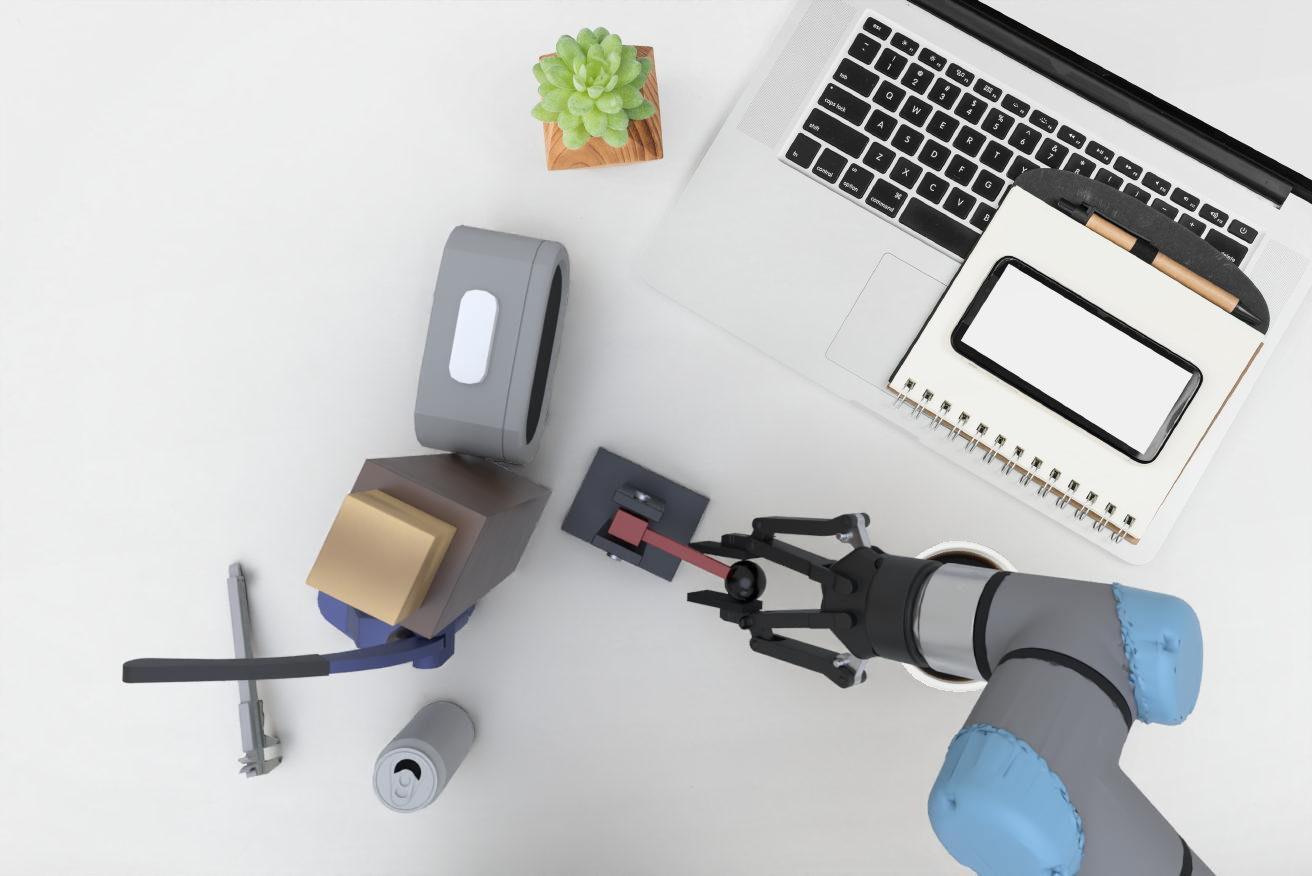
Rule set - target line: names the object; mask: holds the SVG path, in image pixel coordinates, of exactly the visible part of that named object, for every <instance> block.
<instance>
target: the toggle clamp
mask: <svg viewBox="0 0 1312 876" xmlns="http://www.w3.org/2000/svg"><path fill="white" fill-rule="evenodd" d="M710 501H711V499H710V498H709V497H708V496H705V495H703V494H702V493H699V492H697V491H695V490H693V489H691V488H689V487H687V486H685V485H683V484H680V483H678V482H676V481H674V480H672V479H670V478H668V477H666V476H663V475H661V474H659V473H657V472H655V471H653V470H650V469H648V468H646V467H645V466H642V465H641V464H638V463H636V462H634V461H632V460H630V459H628V458H626V457H623V456H621V455H619V454H617V453H615V452H613V451H611V450H609V449H607V448H605V447H602V446H599V447H598V449H597V451H596V454H595V456H594V458H593V460H592V462H591V463H590V466H589V468H588V471H587V472H586V475H585V477H584V479H583V481H582V483H581V485H580V487H579V490H578V492H577V493H576V496H575V498H574V500H573V502H572V504H571V506H570V509H569V511H568V512H567V515H566V517H565V518H564V521H563V523H562V526H561V528H560V530H561V531H563V532H564V533H566V534H569V535H571V536H573V537H575V538H577V539H580V540H582V541H584V542H585V543H588V544H590V545H592V546H594V547H596V548H598V549H600V550H602V551H604V552H606V556H607V557H608V558H609V559H612V560H614V561H617V562H622V560H623V561H625V562H627V563H629V564H631V565H633V566H635V567H638V568H640V569H642V570H644V571H647V572H649V573H650V574H653V575H654V576H657V577H658V578H661V579H663V580H665V581H667V582H670V583H671V582H672V581H673V579H674V577H675V575H676V572H677V570H678V568H679V566H680V564H681V562H682V561H683V560H682V559H680V558H678V557H676V556H674V555H672V554H670V553H668V552H666V551H663V550H661V549H659V548H657V547H655V546H653V545H651V544H649V543H646V542H644V541H642V540H641V541H640V543H639V545H638V547H637V546H635V545H633V544H631V543H628V542H626V541H624V540H622V539H620V538H618V537H616V536H614V535H612V534H609V533H608V530H609V528H610V526H611V524H612V522H613V519H614V517H615V515H616V513H617V511H618V509H619V507H623V508H625V509H627V510H629V511H631V512H633V513H635V514H637V515H639V516H642V517H644V518H646V519H648V520H649V524H648V526H647V527H648V528H650V529H652V530H654V531H656V532H658V533H660V534H663V535H665V536H667V537H669V538H671V539H673V540H675V541H677V542H680V543H682V544H684V545H686V546H688V543H691V541H692V538H693V536H694V534H695V532H696V530H697V528H698V526H699V524H700V522H701V520H702V518H703V515H704V514H705V511H706V509H707V508H708V505H709V503H710Z"/></svg>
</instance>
